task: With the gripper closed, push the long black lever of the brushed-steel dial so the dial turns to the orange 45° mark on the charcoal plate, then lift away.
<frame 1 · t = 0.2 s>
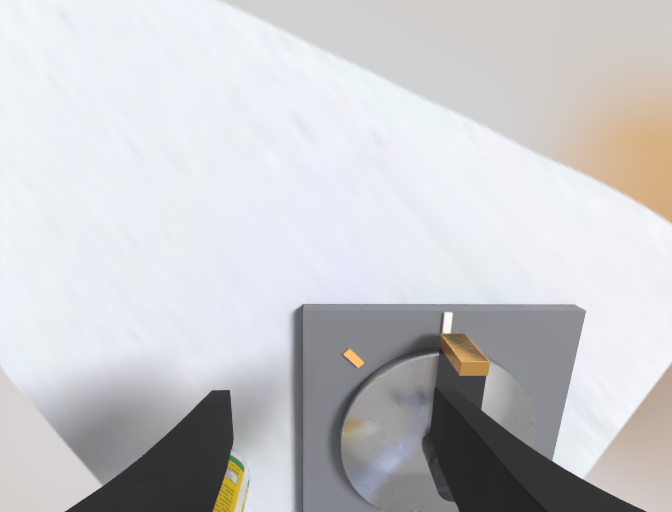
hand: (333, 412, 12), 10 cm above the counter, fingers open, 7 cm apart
dial plate: (429, 421, 24), on the counter
supplement bottle: (214, 468, 25), on the counter
dial: (446, 447, 21), point 3 cm above the counter, hinge at 0.0°
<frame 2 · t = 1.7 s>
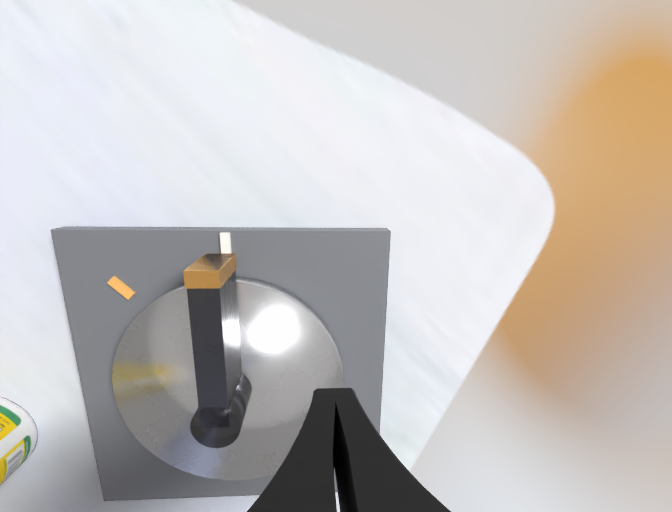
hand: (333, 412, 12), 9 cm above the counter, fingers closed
dial plate: (238, 368, 21), on the counter
dial: (225, 388, 18), point 3 cm above the counter, hinge at 0.0°
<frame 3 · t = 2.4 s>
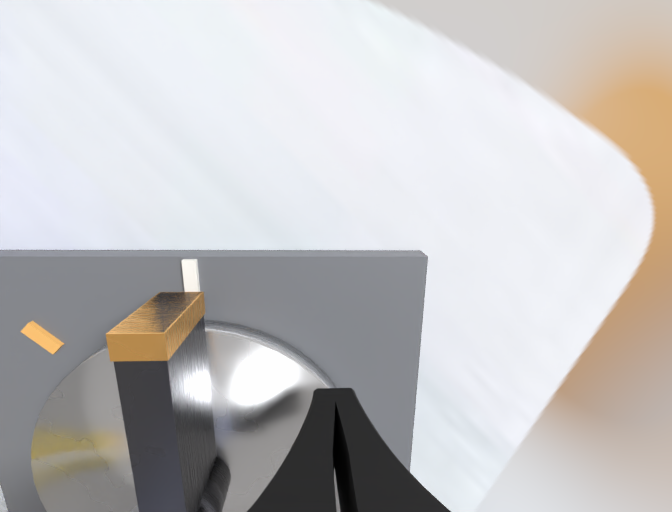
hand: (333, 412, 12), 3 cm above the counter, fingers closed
dial plate: (216, 437, 16), on the counter
dial: (190, 485, 13), point 3 cm above the counter, hinge at 0.0°
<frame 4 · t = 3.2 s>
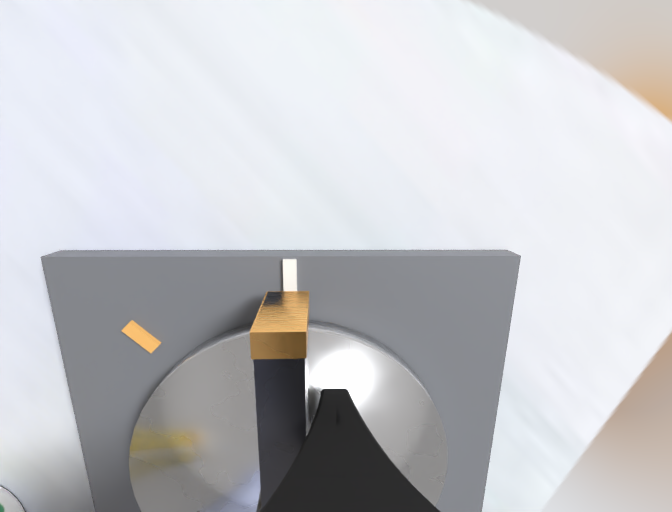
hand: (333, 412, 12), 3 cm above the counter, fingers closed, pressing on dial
dial plate: (295, 435, 16), on the counter
dial: (290, 481, 13), point 3 cm above the counter, hinge at 0.0°, touching gripper
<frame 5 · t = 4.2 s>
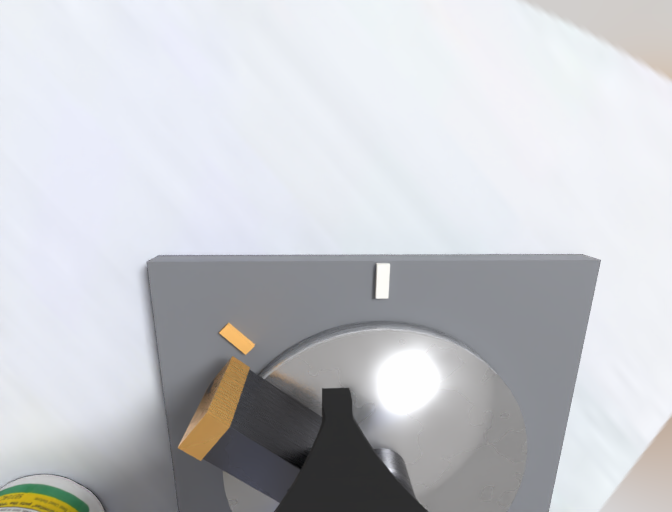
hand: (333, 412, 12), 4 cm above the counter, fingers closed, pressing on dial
dial plate: (370, 434, 16), on the counter
supplement bottle: (55, 509, 17), on the counter
dial: (368, 485, 13), point 3 cm above the counter, hinge at 51.3°, touching gripper
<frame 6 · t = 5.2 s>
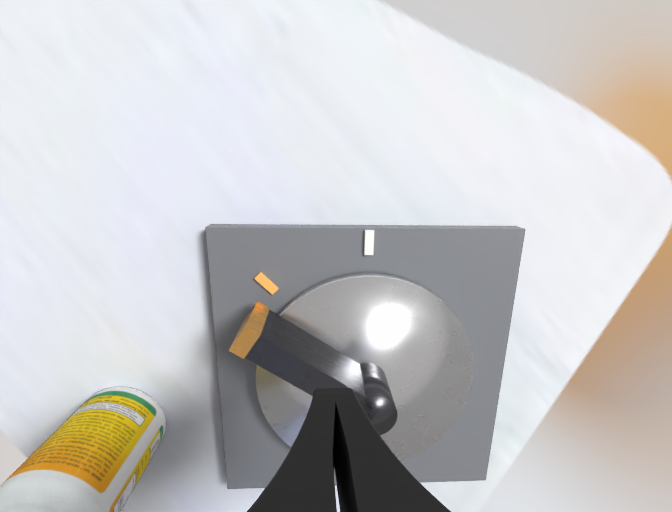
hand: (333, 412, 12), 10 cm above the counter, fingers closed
dial plate: (361, 361, 22), on the counter
supplement bottle: (128, 416, 23), on the counter
dial: (357, 385, 19), point 3 cm above the counter, hinge at 55.7°
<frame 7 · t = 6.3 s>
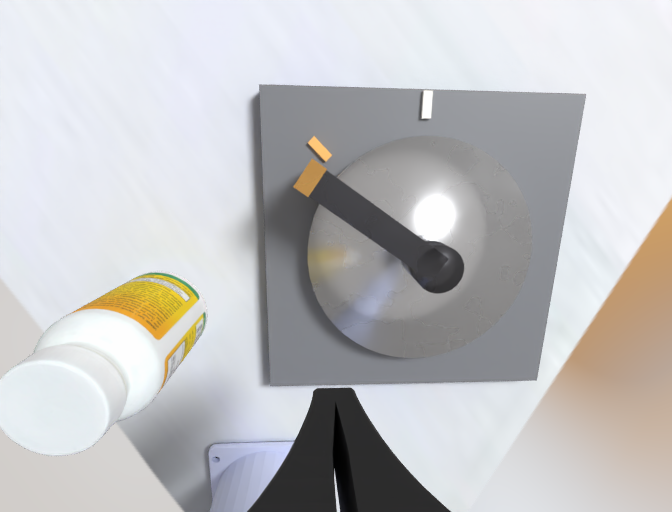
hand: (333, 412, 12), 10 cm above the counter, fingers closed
dial plate: (411, 248, 21), on the counter
supplement bottle: (167, 307, 22), on the counter
dial: (416, 252, 18), point 3 cm above the counter, hinge at 55.7°
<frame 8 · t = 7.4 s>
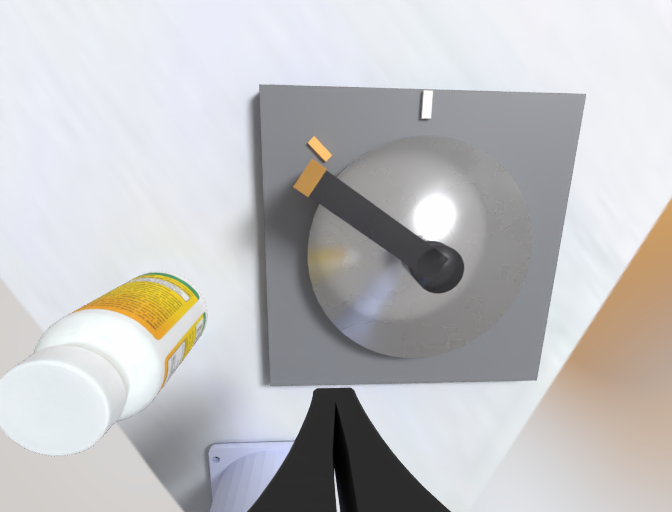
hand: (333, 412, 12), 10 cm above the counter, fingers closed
dial plate: (411, 248, 21), on the counter
supplement bottle: (167, 307, 22), on the counter
dial: (416, 252, 18), point 3 cm above the counter, hinge at 55.7°
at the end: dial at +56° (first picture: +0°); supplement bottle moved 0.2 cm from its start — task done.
